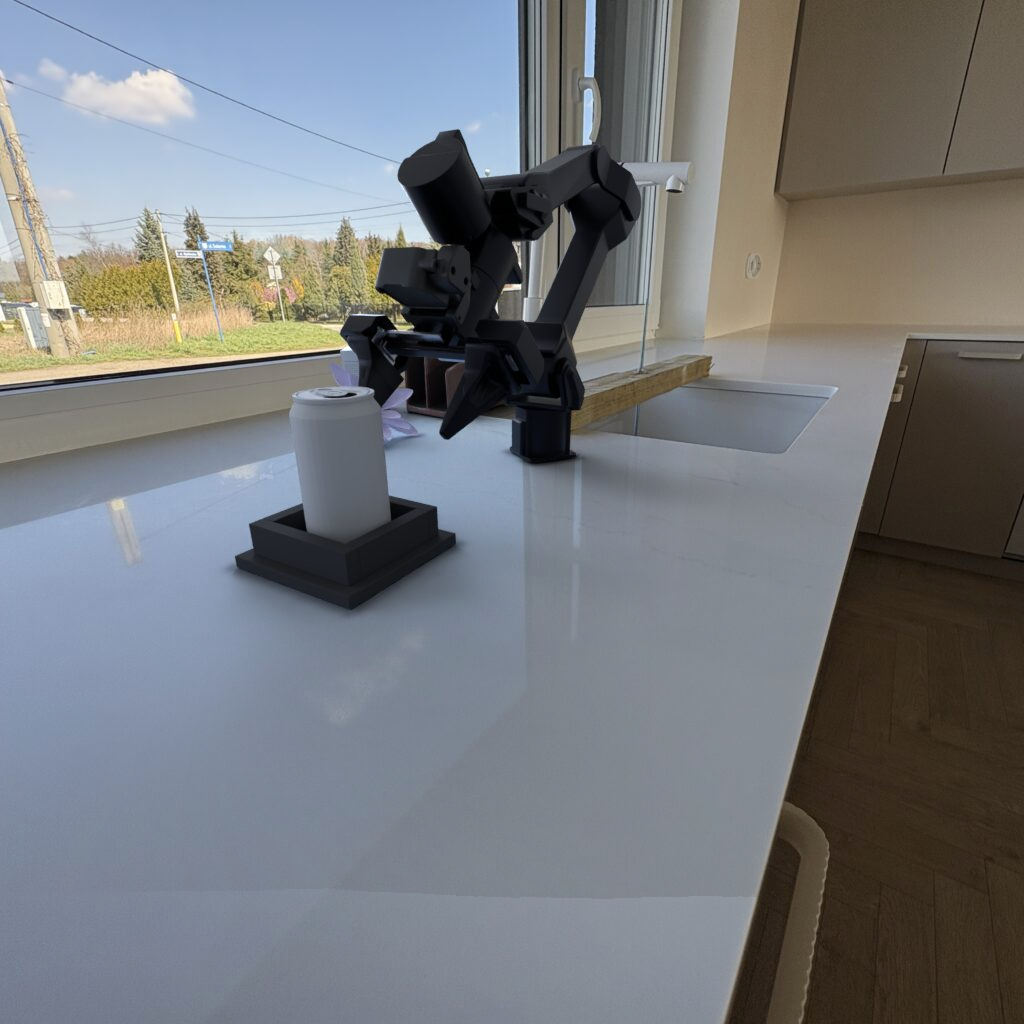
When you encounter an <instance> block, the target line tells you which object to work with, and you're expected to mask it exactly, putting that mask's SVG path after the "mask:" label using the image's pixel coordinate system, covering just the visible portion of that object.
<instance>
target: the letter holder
mask: <svg viewBox="0 0 1024 1024" xmlns="http://www.w3.org/2000/svg"><path fill="white" fill-rule="evenodd" d="M412 329H413V327H410V328H408V329H406V330H405V331H413V330H412ZM464 367H465V363H464V362H452V361H441V360H439V359H438V358H430V357H417V356H412V362H411V364H410V366H409V368H408V369H407V370H406V371H404V388H408V389H411V390H413V393H412V395H411V396H410V397H409V398H408V399H407V400H405V406H406V407H405V408H406V412H407V413H413V414H420V415H425V416H430V417H435V418H442V419H443V418H444V415H445V413H446V411H447V409H448V406H449V404H450V402H451V400H452V397H453V395H454V393H455V391H456V389H457V386H458V384H459V382H460V380H461V377H462V375H463V373H464ZM504 405H505V403H504V400H502V401H501V402H499V403H497V404H496V405H494V406H493V407H491V408H490V409H492V408H496V407H500V406H504Z"/></svg>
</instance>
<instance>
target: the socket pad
mask: <svg viewBox="0 0 1024 1024" xmlns="http://www.w3.org/2000/svg"><path fill="white" fill-rule="evenodd" d="M389 503H390V514H391V521H390V522H388V523H386V524H384V525H382V526H380V527H378V528H376V529H374V530H372V531H370V532H368V533H366V534H364V535H362V536H360V537H358V538H356V539H354V540H352V541H350V542H348V543H346V544H345V543H341V542H338V541H335V540H331V539H328V538H325V537H321V536H318V535H315V534H311V533H308V532H307V528H306V521H305V515H304V508H303V502H301V503H299V504H296V505H293V506H291V507H288V508H286V509H284V510H283V509H282V510H281V511H278V512H275V513H273V514H270V515H267V516H266V517H265V516H264V517H262V518H260V519H257V520H255V521H252V522H249V523H248V527H249V532H250V538H251V543H252V548H251V549H248V550H245V551H243V552H241V553H238V554H235V555H234V559H235V560H234V561H235V565H236V568H238V569H241V570H244V571H246V572H248V573H251V574H254V575H256V576H260V577H262V578H265V579H267V580H269V581H273V582H275V583H278V584H281V585H283V586H285V587H289V588H291V589H294V590H297V591H299V592H302V593H304V594H307V595H310V596H313V597H315V598H318V599H321V600H323V601H326V602H328V603H331V604H334V605H337V606H340V607H342V608H345V609H346V610H347V609H348V610H353V609H354V608H356V607H358V606H359V605H361V604H362V603H364V602H366V601H368V600H369V599H370V598H372V597H373V596H375V595H377V594H378V593H380V592H381V591H383V590H384V589H386V588H388V587H389V586H391V585H392V584H394V583H396V582H397V581H399V580H400V579H402V578H404V577H406V576H407V575H408V574H410V573H412V572H413V571H415V570H416V569H418V568H419V567H421V566H423V565H424V564H426V563H427V562H429V561H431V560H433V559H435V558H436V557H437V556H439V555H440V554H442V553H444V552H445V551H447V550H448V549H451V547H453V546H455V545H456V544H457V535H456V534H457V533H456V532H452V531H448V530H446V529H445V530H444V529H441V528H439V516H438V515H439V514H438V506H436V505H432V504H427V503H423V502H418V501H415V500H411V499H406V498H403V497H398V496H393V495H389Z"/></svg>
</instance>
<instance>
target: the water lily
mask: <svg viewBox="0 0 1024 1024" xmlns="http://www.w3.org/2000/svg"><path fill="white" fill-rule="evenodd" d="M328 367H329V370H330V372H331V374H332V377H333V379H334V381H335V382H336V383H337V386H357V387H358V381H359V379H358V378H357V377H356V376H355V375H354V374H351V373H350V375H349V374H348V373H347V371H346V370H345V369H343V368H342V365H339V364H338V363H335V362H333V361H329V362H328ZM412 393H413V390H411V389H408V388H405V387H401V388H397V389H396V390H395V391H394V393H393V394H392V395H391V396H390V397H389V399H388V400H387V401H386V402H385V404H384V405H383V406H382V407H381V410H382V411H381V415H382V426H383V437H384V440H387V441H392V438H393V434H392V431H391V429H392V430H394V431H396V432H398V433H401V434H405V435H409V436H414V437H415V436H420V434H419V431H418V430H417V429H416V428H415V426H414V425H412V423H410V422H409V421H407V420H405V419H403V418H402V415H401V414H400V413H399V412H398V411H396V410H393V409H391V408H395V407H397V406H399V405H400V404H403V403H404V402H406V400H407V399H408V398H409V397H410V396H411V395H412Z"/></svg>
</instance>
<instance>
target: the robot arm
mask: <svg viewBox="0 0 1024 1024" xmlns="http://www.w3.org/2000/svg"><path fill="white" fill-rule="evenodd" d="M461 131H462V130H460V129H459V128H457V129H449V130H443V131H439V132H438V134H437V135H436V138H435V139H434V140H432V141H430V142H428V143H426V144H424V145H423V146H421V147H419V148H418V149H417V150H415V152H413V153H411V155H410V156H408V157H405V158H403V160H402V162H401V163H400V165H399V167H398V170H397V174H396V176H397V177H396V178H397V180H398V183H399V185H400V186H401V188H402V189H403V192H405V195H406V196H407V198H408V200H409V201H410V203H411V205H412V206H413V208H414V210H415V212H416V213H417V216H418V217H419V219H420V220H421V222H422V224H423V226H424V227H425V230H426V231H427V232H428V234H429V236H430V237H431V239H432V240H433V242H435V243H437V244H438V245H442V246H441V247H439V249H436V248H425V247H421V246H404V247H403V246H402V247H401V246H400V247H385V248H382V252H381V257H380V263H379V266H378V270H377V275H376V280H375V285H374V290H375V291H376V292H378V293H379V294H380V295H386V296H387V297H390V298H391V299H392V300H394V301H395V302H397V303H399V304H400V305H402V306H403V307H402V309H401V310H400V313H399V314H400V315H401V317H402V318H403V319H404V321H405V323H408V324H411V325H412V326H413V327H412V328H413V329H412V330H413V331H406V330H401V329H400V330H399V329H398V328H397V327H396V326H395V324H394V323H393V321H392V320H391V319H390V318H389V316H388V315H387V314H366V313H357V314H348V316H347V318H346V320H345V321H344V324H343V325H342V327H341V329H340V331H339V336H340V337H341V338H342V339H343V340H344V341H345V342H346V343H347V346H349V347H350V348H351V349H352V350H353V352H354V353H355V354H356V355H357V357H358V361H359V381H358V387H366V388H370V389H373V390H374V396H373V398H374V399H375V400H376V402H377V403H378V404H379V405H380V407H382V406H383V405H384V404H385V402H386V401H387V400H388V399H389V397H390V396H391V395H392V394H393V393H394V391H395V390H396V389H399V387H400V386H401V384H403V382H404V381H405V377H404V376H403V375H402V374H403V373H405V371H406V370H407V369H408V368H409V366H410V364H411V362H412V356H417V357H430V358H438V359H439V360H441V361H452V362H464V363H465V367H464V373H463V375H462V377H461V380H460V382H459V384H458V386H457V389H456V391H455V393H454V395H453V397H452V400H451V402H450V404H449V406H448V409H447V411H446V413H445V415H444V418H442V421H441V424H440V427H439V431H438V434H439V436H440V437H441V438H442V439H443V440H444V441H449V440H450V439H452V438H453V437H454V436H456V435H457V434H458V433H459V432H461V431H462V430H463V429H465V428H466V427H467V426H469V425H470V424H471V423H473V422H474V421H475V420H476V419H477V418H479V417H480V416H481V415H483V414H485V412H487V411H489V410H490V409H492V408H491V407H493V406H494V405H496V404H497V403H499V402H501V401H502V400H504V403H505V404H504V405H505V406H508V407H509V406H514V407H515V408H514V409H515V410H514V413H515V415H514V417H513V418H512V419H511V446H509V451H510V452H511V453H513V454H515V455H517V457H520V458H521V459H523V460H524V461H526V462H528V463H530V464H537V463H543V462H551V461H558V460H565V459H572V458H577V452H576V451H573V450H572V449H571V439H572V437H571V435H572V411H573V412H574V411H581V410H582V406H583V404H584V400H585V393H586V387H585V385H584V383H583V381H582V378H581V375H580V373H579V371H578V369H577V365H578V360H577V355H576V351H575V348H574V345H573V339H574V337H575V334H576V332H577V329H578V327H579V324H580V322H581V320H582V317H583V314H584V312H585V310H586V307H587V305H588V303H589V300H590V297H591V295H592V293H593V290H594V288H595V285H596V283H597V280H598V278H599V275H600V273H601V271H602V268H603V266H604V264H605V261H606V259H607V256H608V253H609V252H611V251H612V250H613V249H615V248H617V247H618V246H619V245H620V244H622V243H623V242H625V241H626V240H627V239H628V237H629V236H630V234H631V232H632V231H633V229H634V227H635V224H636V222H637V221H638V220H639V219H640V217H641V216H640V215H641V212H642V211H641V210H642V196H641V192H640V189H639V187H638V185H637V182H636V180H635V177H634V175H633V174H632V172H631V171H630V170H628V169H627V168H625V167H624V166H622V165H621V164H620V163H618V162H617V161H615V160H614V159H613V158H612V157H611V156H610V153H609V151H608V149H607V148H606V146H605V145H601V144H600V143H590V144H583V145H575V146H568V147H566V149H563V150H562V151H560V153H559V154H557V155H555V156H553V157H552V158H550V159H548V160H546V161H543V162H542V163H540V164H538V165H536V166H534V167H532V168H530V169H528V170H526V171H524V172H521V173H516V174H515V173H513V174H504V175H494V176H485V177H484V176H483V177H480V175H479V173H478V171H477V169H476V167H475V164H474V162H473V160H472V157H471V155H470V151H469V149H468V146H467V143H466V140H465V138H464V136H463V134H462V132H461ZM562 205H563V207H564V208H565V210H566V212H567V213H568V215H569V217H570V220H571V224H572V227H573V234H572V236H571V239H570V241H569V243H568V246H567V248H566V251H565V253H564V255H563V257H562V260H561V262H560V263H559V266H558V269H557V270H556V273H555V275H554V278H553V280H552V282H551V284H550V287H549V289H548V291H547V294H546V296H545V298H544V301H543V302H542V305H541V307H540V310H539V312H538V314H537V316H536V319H535V320H534V321H525V320H524V319H506V318H505V319H504V318H503V319H502V318H501V317H500V315H499V313H498V312H497V309H496V306H497V305H498V302H499V299H500V297H501V295H502V293H503V290H504V289H505V286H506V285H522V284H523V282H524V276H523V270H522V268H521V266H520V264H519V263H520V262H519V256H518V253H517V250H516V247H515V246H514V244H513V243H518V242H521V243H522V242H535V241H538V240H540V238H542V236H543V235H544V234H545V233H546V231H547V230H548V229H549V228H550V227H551V226H552V224H553V223H554V216H553V215H554V214H553V213H554V211H555V210H556V209H558V208H559V207H561V206H562ZM493 408H494V407H493Z"/></svg>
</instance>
